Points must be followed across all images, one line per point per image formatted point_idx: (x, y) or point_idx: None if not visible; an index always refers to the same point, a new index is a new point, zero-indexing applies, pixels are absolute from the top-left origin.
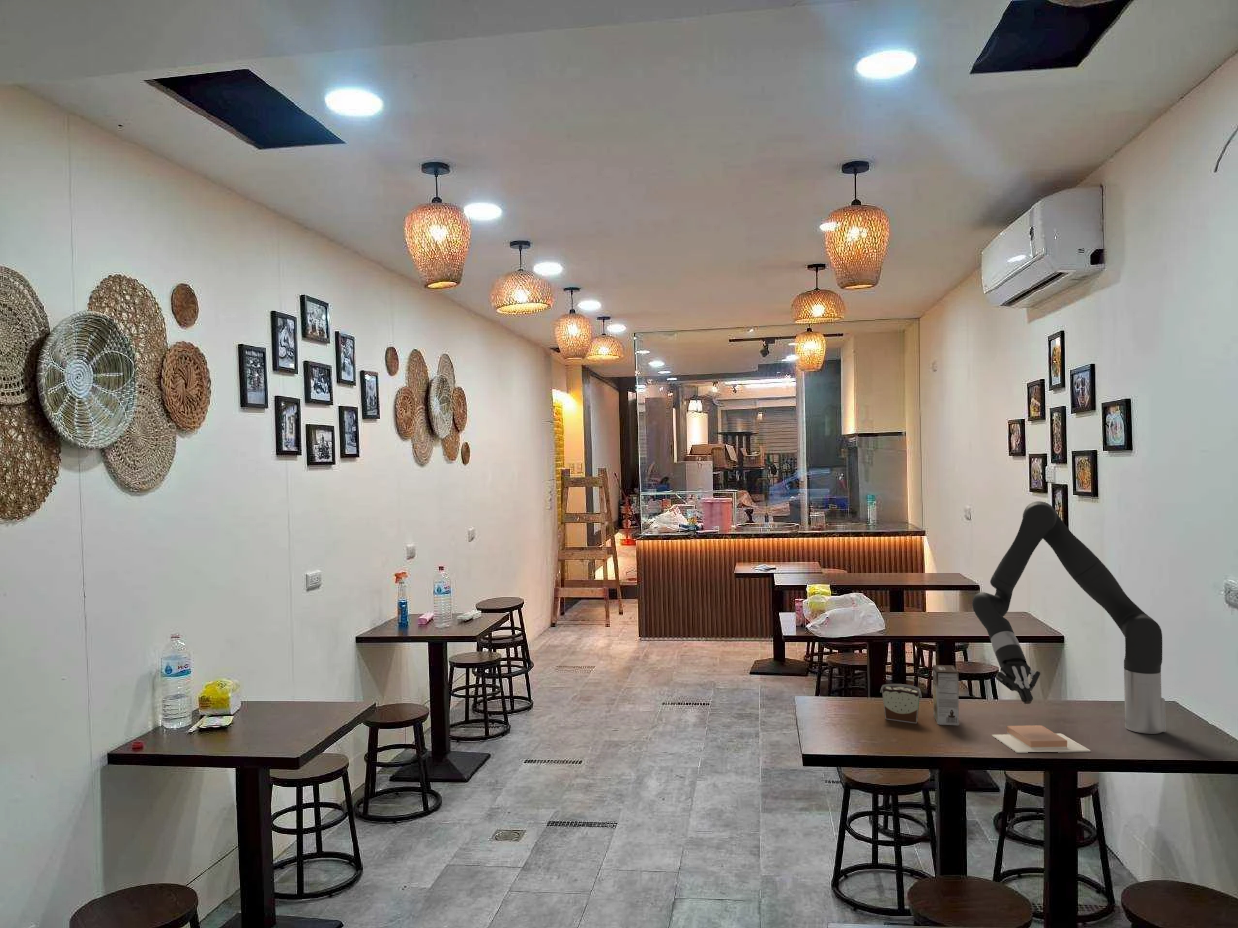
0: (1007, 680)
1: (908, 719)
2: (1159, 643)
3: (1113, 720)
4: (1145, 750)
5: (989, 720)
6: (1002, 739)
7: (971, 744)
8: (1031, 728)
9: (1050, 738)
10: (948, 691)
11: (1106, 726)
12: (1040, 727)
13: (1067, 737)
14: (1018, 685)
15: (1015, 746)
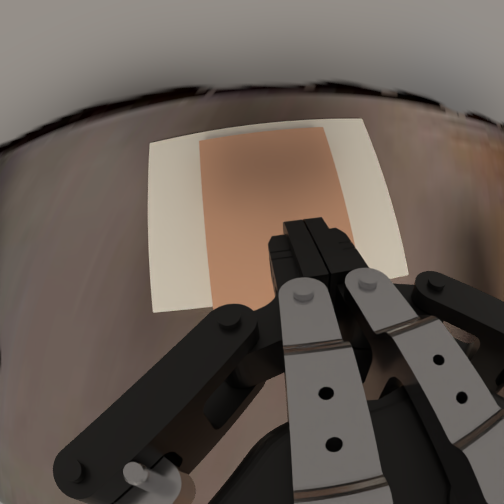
0: (501, 306)
1: None
2: None
3: (10, 424)
4: (36, 185)
5: None
6: (386, 222)
7: (457, 189)
8: None
9: (246, 154)
10: None
11: (24, 385)
12: (230, 292)
13: (151, 264)
14: (396, 298)
15: (359, 156)
